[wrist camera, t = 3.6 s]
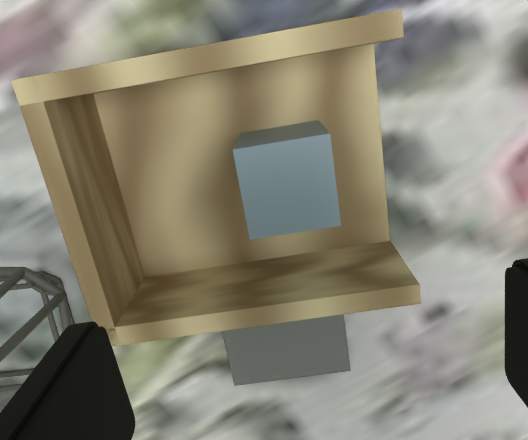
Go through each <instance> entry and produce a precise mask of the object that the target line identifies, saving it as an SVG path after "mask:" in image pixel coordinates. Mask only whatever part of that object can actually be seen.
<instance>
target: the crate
mask: <svg viewBox="0 0 528 440" xmlns="http://www.w3.org/2000/svg"><path fill="white" fill-rule="evenodd" d="M401 37H404V36H403V20H402V9H397V10H392V11H386V12H381V13H375V14H370V15H364V16H359V17H354V18H348V19H343V20H337V21H332V22H326V23H321V24H316V25H310V26H305V27H299V28H294V29H288V30H283V31H277V32H272V33H267V34H261V35H256V36H250V37H245V38H239V39H234V40H228V41H223V42H218V43H212V44H207V45H201V46H196V47H190V48H185V49H179V50H174V51H169V52H163V53H158V54H152V55H147V56H141V57H136V58H130V59H125V60H120V61H114V62H109V63H103V64H98V65H92V66H87V67H82V68H76V69H71V70H65V71H60V72H54V73H49V74H43V75H38V76H33V77H27V78H22V79H16V80H11V81H12V84H13V87H14V90H15V93H16V96H17V99H18V102H19V105H20V108H21V111H22V114H23V117H24V120H25V123H26V126H27V129H28V132H29V135H30V138H31V141H32V144H33V147H34V150H35V153H36V156H37V159H38V162H39V165H40V168H41V171H42V174H43V177H44V180H45V183H46V186H47V189H48V192H49V195H50V198H51V201H52V204H53V207H54V210H55V213H56V216H57V219H58V222H59V225H60V228H61V231H62V234H63V237H64V240H65V243H66V246H67V249H68V252H69V255H70V258H71V261H72V264H73V267H74V270H75V273H76V276H77V279H78V282H79V285H80V288H81V291H82V294H83V297H84V300H85V303H86V306H87V309H88V312H89V315H90V318H91V321H92V322H93V321H94V322H96V323H97V324H98V326H99V327H100V326H103V327H104V328H105V329H106V331H107V334H108V337H109V340H110V343H111V346H117V345H124V344H131V343H138V342H146V341H153V340H160V339H167V338H175V337H182V336H189V335H196V334H204V333H211V332H218V331H225V330H233V329H240V328H247V327H254V326H261V325H269V324H276V323H283V322H290V321H298V320H305V319H312V318H319V317H327V316H334V315H341V314H348V313H356V312H363V311H370V310H377V309H384V308H392V307H399V306H406V305H413V304H421V300H420V285H419V283H418V281H417V280H416V279H415V277H414V276H413V274H412V273H411V271H410V270H409V268H408V267H407V265H406V264H405V262H404V261H403V259H402V258H401V256H400V255H399V253H398V252H397V250H396V249H395V247H394V246H393V245H392V243H391V242H390V234H389V223H388V211H387V199H386V187H385V175H384V164H383V152H382V140H381V128H380V116H379V105H378V93H377V81H376V69H375V57H374V45H373V44H374V43H378V42H383V41H387V40H392V39H396V38H401ZM315 120H319V121H320V122H321V124H322V125H323V126H324V127H325V128H326V129H327V131H328V132H329V133H330V137H331V145H332V154H333V162H334V170H335V179H336V187H337V195H338V203H339V212H340V220H341V226H337V227H330V228H324V229H317V230H311V231H304V232H298V233H291V234H284V235H278V236H271V237H265V238H258V239H251V240H250V238H249V233H248V227H247V222H246V217H245V212H244V206H243V201H242V196H241V191H240V186H239V180H238V175H237V170H236V165H235V160H234V154H233V148H234V146H235V144H236V141H237V139H238V137H239V135H240V133H244V132H250V131H256V130H262V129H268V128H274V127H280V126H286V125H292V124H298V123H303V122H309V121H315Z"/></svg>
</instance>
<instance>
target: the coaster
mask: <svg viewBox="0 0 528 440" xmlns="http://www.w3.org/2000/svg"><path fill="white" fill-rule="evenodd" d="M222 333H223V338H224V342H225V346H226V351H227V355H228V359H229V364H230V368H231V372H232V377H233V381H234V386H236V385H244V384H252V383H259V382H267V381H275V380H282V379H290V378H298V377H306V376H313V375H321V374H329V373H337V372H344V371H350V363H349V355H348V347H347V339H346V331H345V324H344V316H343V314H341V315H334V316H327V317H319V318H312V319H305V320H298V321H290V322H283V323H276V324H269V325H261V326H254V327H247V328H240V329H233V330H225V331H222Z"/></svg>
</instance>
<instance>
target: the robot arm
mask: <svg viewBox="0 0 528 440" xmlns="http://www.w3.org/2000/svg"><path fill="white" fill-rule="evenodd" d="M505 372H506V376H507V379H508V381H509V383H510V384H511V386H512V387H513V388H514V390H515V391H516V392H517V394H518V395H519V396H520V398H521V399H522V400H523V402H524V403H525V404H526V406H527V407H528V258H527V259H520V260H515V261H514V262H513V265H512V267H510V268H507V269H506V272H505ZM134 429H135V417H134V413H133V410H132V407H131V404H130V401H129V398H128V395H127V392H126V389H125V386H124V383H123V380H122V376H121V373H120V370H119V367H118V364H117V361H116V358H115V355H114V352H113V349H112V346H111V343H110V340H109V337H108V334H107V331H106V329H105V328H104V327H103V326H100V327H99V326H98V324H97V323H96V322H94V321H93V322H86V323H79V324H72V325H69V326H68V327H67V328H66V329H65V330H64V332H63V333H62V334H61V335H60V337H59V338H58V339H57V341H56V342H55V343H54V344H53V346H52V347H51V348H50V350H49V351H48V352H47V353H46V355H45V356H44V357H43V359H42V360H41V361H40V362H39V364H38V365H37V366H36V368H35V369H34V370H33V371H32V373H31V374H30V375H29V377H28V378H27V379H26V380H25V382H24V383H23V384H22V386H21V387H20V388H19V389H18V391H17V392H16V393H15V395H14V396H13V397H12V399H11V400H10V401H9V402H8V404H7V405H6V406H5V408H4V409H3V410H2V411H1V413H0V440H131V439H132V436H133V433H134Z"/></svg>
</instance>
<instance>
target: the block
mask: <svg viewBox="0 0 528 440" xmlns="http://www.w3.org/2000/svg"><path fill="white" fill-rule="evenodd" d="M233 154H234V160H235V165H236V170H237V175H238V180H239V186H240V191H241V196H242V201H243V206H244V212H245V217H246V222H247V227H248V233H249V238H250V240H251V239H258V238H265V237H271V236H278V235H284V234H291V233H298V232H304V231H311V230H317V229H324V228H330V227H337V226H341V220H340V212H339V203H338V195H337V187H336V179H335V170H334V162H333V154H332V145H331V137H330V133H329V132H328V131H327V129H326V128H325V127H324V126H323V125H322V124H321V122H320V121H319V120H315V121H309V122H303V123H298V124H292V125H286V126H280V127H274V128H268V129H262V130H256V131H250V132H244V133H240V135H239V137H238V139H237V141H236V144H235V146H234V148H233Z"/></svg>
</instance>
